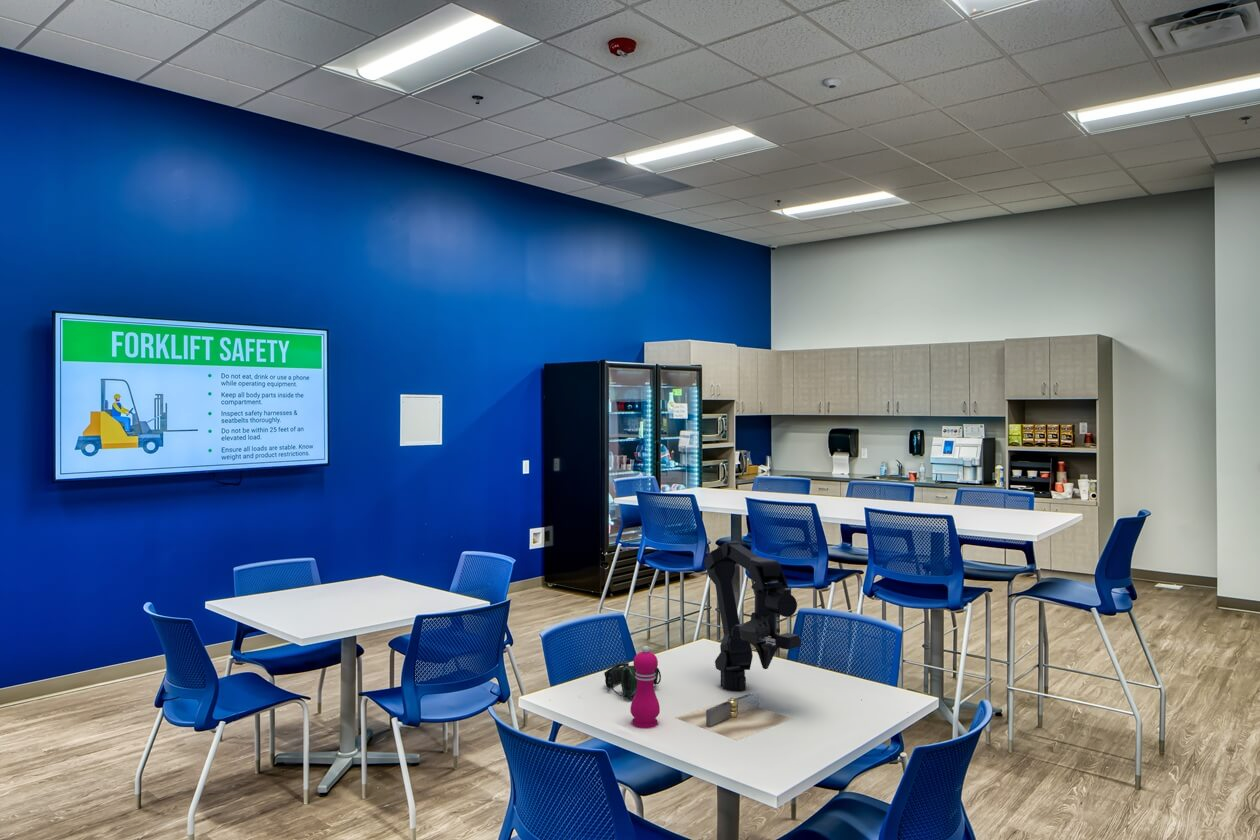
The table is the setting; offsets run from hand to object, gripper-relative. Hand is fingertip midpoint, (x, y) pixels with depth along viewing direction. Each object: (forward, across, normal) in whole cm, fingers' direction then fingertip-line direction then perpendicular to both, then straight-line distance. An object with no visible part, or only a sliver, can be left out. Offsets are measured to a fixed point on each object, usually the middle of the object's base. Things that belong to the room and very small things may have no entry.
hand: (765, 668), depth 214 cm
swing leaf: (+10, -1, -17) cm, 19 cm away
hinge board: (+11, 0, -12) cm, 17 cm away
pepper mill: (+11, -12, -32) cm, 36 cm away
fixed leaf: (+10, -1, -8) cm, 13 cm away
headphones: (+11, -34, -15) cm, 39 cm away
